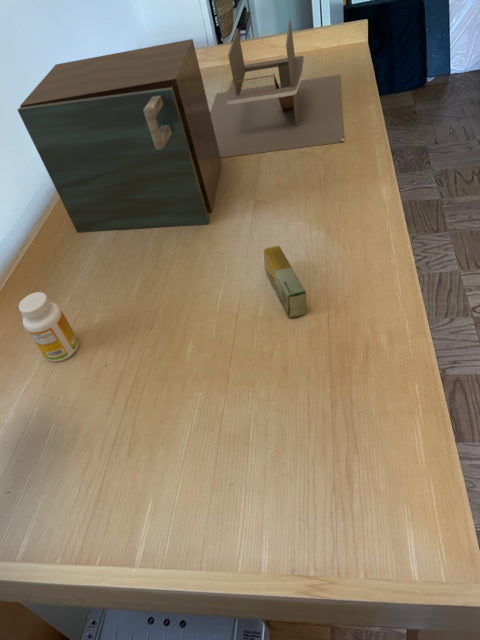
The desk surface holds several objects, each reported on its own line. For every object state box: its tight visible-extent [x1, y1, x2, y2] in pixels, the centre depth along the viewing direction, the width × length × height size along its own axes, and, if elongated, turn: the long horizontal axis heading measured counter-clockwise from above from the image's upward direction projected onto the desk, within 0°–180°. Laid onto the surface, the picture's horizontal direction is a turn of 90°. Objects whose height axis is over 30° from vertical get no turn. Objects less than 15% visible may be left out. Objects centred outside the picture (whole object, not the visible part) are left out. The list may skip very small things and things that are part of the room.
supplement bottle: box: [18, 291, 80, 363], centre depth 76 cm, size 5×5×10 cm
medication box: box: [263, 245, 307, 319], centre depth 77 cm, size 12×3×4 cm, turn 15°
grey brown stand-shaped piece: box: [210, 18, 345, 159], centre depth 117 cm, size 31×35×17 cm
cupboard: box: [19, 38, 223, 214], centre depth 99 cm, size 18×26×24 cm
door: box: [17, 87, 210, 233], centre depth 89 cm, size 6×26×24 cm, turn 80°
